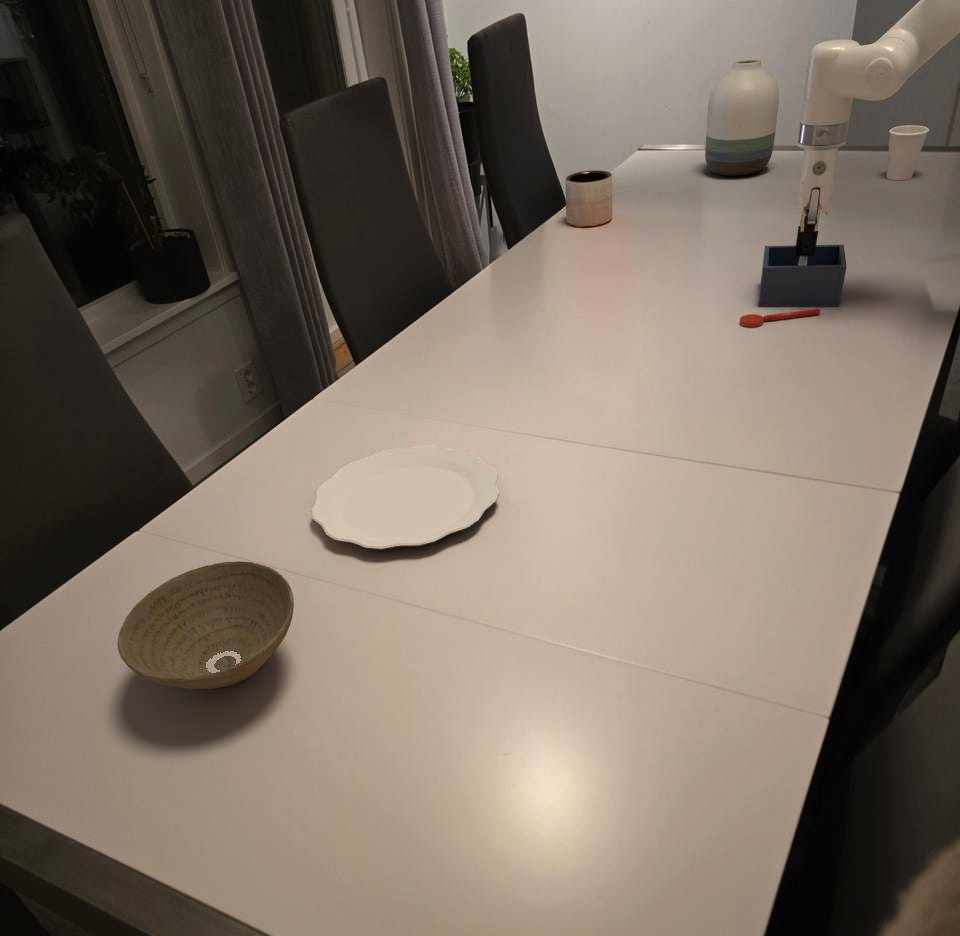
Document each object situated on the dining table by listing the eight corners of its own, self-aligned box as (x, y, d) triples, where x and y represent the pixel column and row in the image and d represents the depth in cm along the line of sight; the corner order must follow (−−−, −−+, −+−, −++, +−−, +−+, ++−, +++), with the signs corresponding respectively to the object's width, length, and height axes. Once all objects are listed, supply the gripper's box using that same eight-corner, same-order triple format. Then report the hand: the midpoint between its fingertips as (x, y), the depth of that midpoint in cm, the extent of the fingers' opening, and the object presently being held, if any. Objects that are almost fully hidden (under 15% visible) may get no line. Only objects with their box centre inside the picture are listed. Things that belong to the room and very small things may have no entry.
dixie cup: (886, 183, 197) (896, 135, 190) (875, 174, 203) (884, 127, 197) (923, 179, 196) (934, 131, 190) (911, 171, 203) (921, 123, 196)
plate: (438, 577, 99) (436, 564, 98) (277, 535, 110) (273, 522, 109) (531, 473, 115) (530, 461, 114) (382, 445, 125) (380, 433, 124)
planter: (561, 228, 197) (559, 183, 190) (572, 214, 204) (571, 170, 198) (607, 227, 193) (607, 182, 187) (616, 213, 201) (616, 169, 194)
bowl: (111, 725, 86) (78, 670, 81) (187, 611, 99) (164, 557, 94) (277, 737, 82) (254, 680, 77) (333, 617, 96) (317, 561, 90)
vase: (758, 160, 224) (770, 52, 208) (780, 175, 211) (794, 61, 195) (696, 168, 224) (702, 61, 208) (713, 183, 211) (722, 70, 195)
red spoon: (815, 310, 147) (816, 304, 146) (824, 318, 144) (825, 312, 143) (736, 320, 147) (737, 314, 146) (743, 328, 144) (744, 323, 143)
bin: (836, 283, 155) (843, 244, 150) (839, 306, 147) (846, 266, 142) (760, 283, 158) (764, 245, 154) (758, 306, 150) (763, 267, 146)
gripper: (849, 144, 129) (828, 268, 141) (845, 121, 140) (826, 237, 152) (798, 147, 131) (781, 268, 143) (798, 124, 142) (782, 238, 154)
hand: (804, 251), depth 148 cm, fingers closed
